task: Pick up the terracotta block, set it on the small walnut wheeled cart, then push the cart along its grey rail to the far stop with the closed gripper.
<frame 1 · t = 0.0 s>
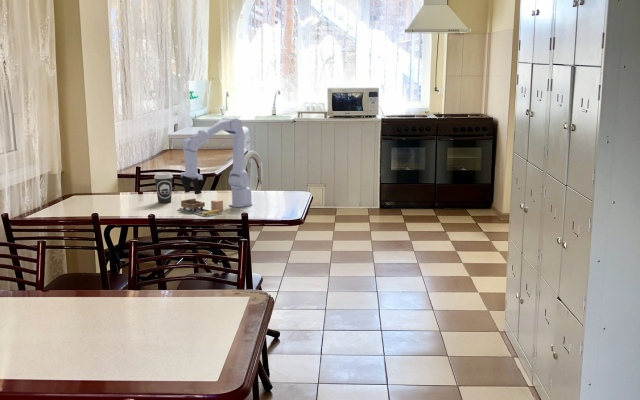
hand: (192, 193, 319), 10 cm above the table, tool pointing down, fingers open, 7 cm apart
coffee cup: (164, 202, 351), on the table
rail: (199, 212, 325), on the table
block: (217, 210, 329), on the table
cart: (192, 204, 328), point 3 cm above the table, slide at 0.0 cm
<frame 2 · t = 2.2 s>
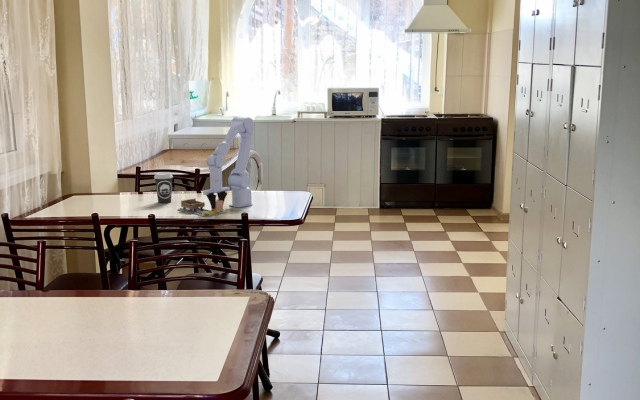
hand: (217, 207, 328), 1 cm above the table, tool pointing down, fingers closed on block, 4 cm apart
block: (217, 210, 329), on the table, touching gripper
everything else where it was.
when the fingers open (6 cm above the table, at t = 4.6 s): block moves 2 cm, resting on cart.
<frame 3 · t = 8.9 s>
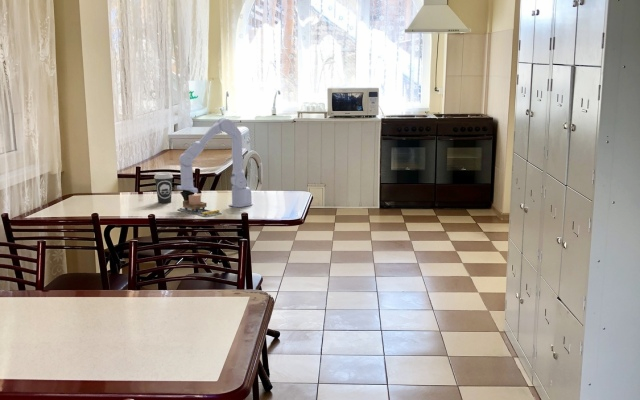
hand: (188, 205, 331), 2 cm above the table, tool pointing down, fingers closed
block: (195, 205, 327), point 3 cm above the table, touching cart
cart: (194, 205, 327), point 3 cm above the table, slide at 1.4 cm, touching block, gripper
everything else where it was.
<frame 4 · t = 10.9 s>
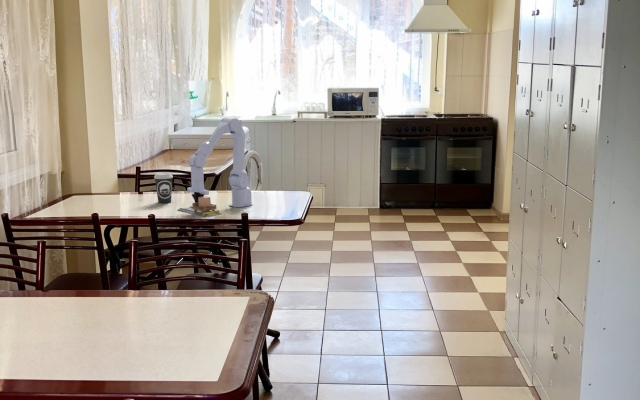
hand: (198, 208, 325), 2 cm above the table, tool pointing down, fingers closed, pressing on cart
block: (204, 207, 322), point 3 cm above the table, touching cart
cart: (204, 207, 322), point 3 cm above the table, slide at 9.2 cm, touching block, gripper
everything else where it was.
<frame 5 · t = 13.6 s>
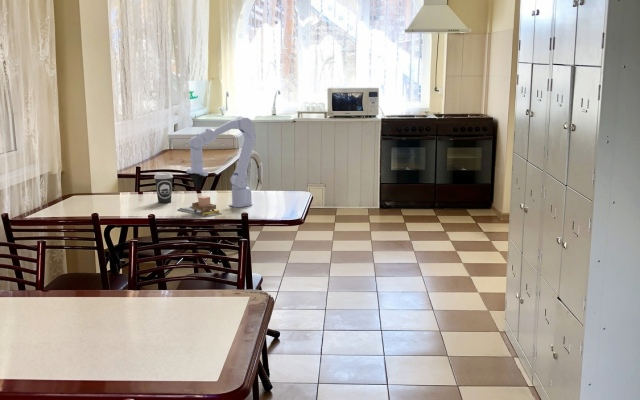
hand: (197, 189, 330), 10 cm above the table, tool pointing down, fingers closed
cart: (204, 207, 322), point 3 cm above the table, slide at 9.0 cm, touching block
everything else where it was.
at the end: cart slide at 9.0 cm; block 0.2 cm off-centre on the cart, point 2.8 cm above the cart's base; block tilted 0° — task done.
